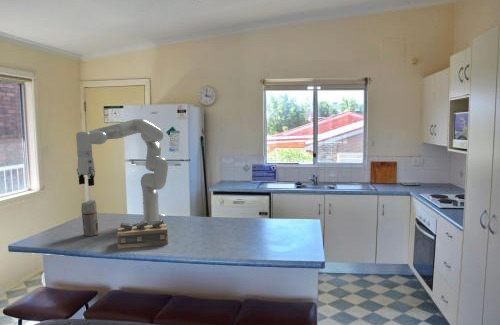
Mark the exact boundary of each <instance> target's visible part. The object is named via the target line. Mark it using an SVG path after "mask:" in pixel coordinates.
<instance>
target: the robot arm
mask: <svg viewBox="0 0 500 325" xmlns="http://www.w3.org/2000/svg"><path fill="white" fill-rule="evenodd" d="M137 134H140V137H141V139H142V140H143V141H144V143H145V145H146V147H147V149H146V156H145V164H144V165H145V167H144V168H145V169H146V170H148V171H149V172H146V173H144V174H143V175H142V176H141V179H140V186H141V190H142V210H143V219H142V220H141V222H144V221H148V225H152V223H154V222H156V221H159V220H162V219H163V218H166V214H165V213H164V214H163V213H161V214H160V211H159V190H162V189H163V188H164V187H165V185H166V182H167V176H168V170H169V164H168V161H167V159H166V158H165V157H162V155H161V154H162V146H161V144H160V142H161V141H162V140H163V139H164V131H163V130H162V129H160V128H159V127H158V126H156V125H155V124H153V123H152V122H150V121H148V120H146V119H143V118H138V119H137V118H136V119H131V120H127V121H124V122H123V121H122V122H120V123H116V124H112V125H108V126H103V127H99V128H96V129H92V130H89V131H77V133H76V135H75V136H76V139H75V140H76V152H77V153H76V154H77V168H76V171H77V176H78V185H85V184H86V181H85V179H86V178H85V176H87V186H88V187H93V186H95V176H96V175H95V174H96V170H95V161H94V158H93V148H92V145H103V144H105V143H106V141H107V140H118V139H122V138H125V137H129V136H132V135H137ZM151 172H153V173H151Z"/></svg>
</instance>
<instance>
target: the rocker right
mask: <svg viewBox="0 0 500 325" xmlns="http://www.w3.org/2000/svg"><path fill="white" fill-rule="evenodd" d="M163 219H164V218H161V220H159V221H156V222H154V223H152V224H151V225H152V226H153V227H156V223H160V225H162V224H165V223H164V220H163Z"/></svg>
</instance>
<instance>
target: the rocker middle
mask: <svg viewBox="0 0 500 325" xmlns="http://www.w3.org/2000/svg"><path fill="white" fill-rule="evenodd" d="M140 225H144V226H147V225H149V224H148V221H144V222H142V223H140V222H139V223H136V224H135V226H136V227H137V229H138V228H141V227H140Z"/></svg>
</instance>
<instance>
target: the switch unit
mask: <svg viewBox="0 0 500 325" xmlns="http://www.w3.org/2000/svg"><path fill="white" fill-rule="evenodd" d="M139 223H142V222H139ZM127 224H130V223H127ZM140 227H141V228H138V229H137V227H136V225H133V227H132V229H129V228H128V226H124V228H122V227H120V226H119V227H117V237H116V238H117V239H116V240H117V250H118V249H128V248H129V249H130V248H140V247H150V246H151V247H153V246H160V245H161V246H162V245H168V244H169V242H168V239H169V238H168V236H169V235H168V234H169V233H168V227H167V223H164V224H162V225H160V223H156V227H153V226H152V224H148V225H147V226H144V225H140Z"/></svg>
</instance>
